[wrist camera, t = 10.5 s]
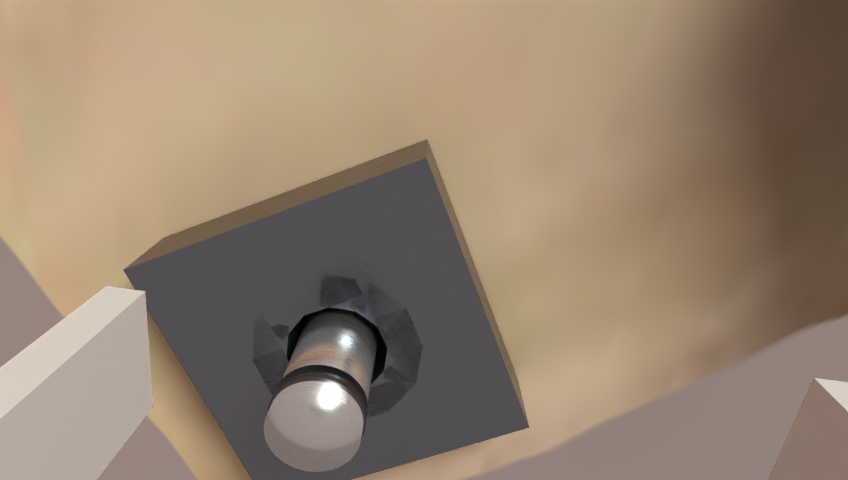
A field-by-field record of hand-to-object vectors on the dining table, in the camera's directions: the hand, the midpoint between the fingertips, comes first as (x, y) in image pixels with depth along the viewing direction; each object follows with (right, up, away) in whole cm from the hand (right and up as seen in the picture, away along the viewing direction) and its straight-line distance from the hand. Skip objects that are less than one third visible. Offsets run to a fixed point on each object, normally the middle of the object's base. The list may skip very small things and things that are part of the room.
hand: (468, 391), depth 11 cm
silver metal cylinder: (-6, -2, +27) cm, 27 cm away
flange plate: (-6, -2, +26) cm, 27 cm away
